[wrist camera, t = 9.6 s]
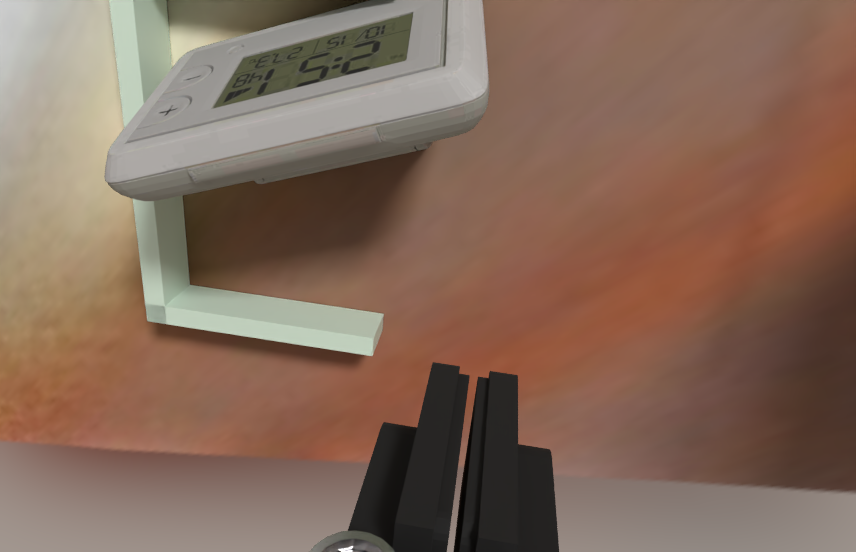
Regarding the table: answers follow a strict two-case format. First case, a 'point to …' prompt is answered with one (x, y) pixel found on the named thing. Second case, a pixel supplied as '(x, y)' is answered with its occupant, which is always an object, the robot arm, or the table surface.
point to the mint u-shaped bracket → (166, 237)
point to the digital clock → (307, 98)
